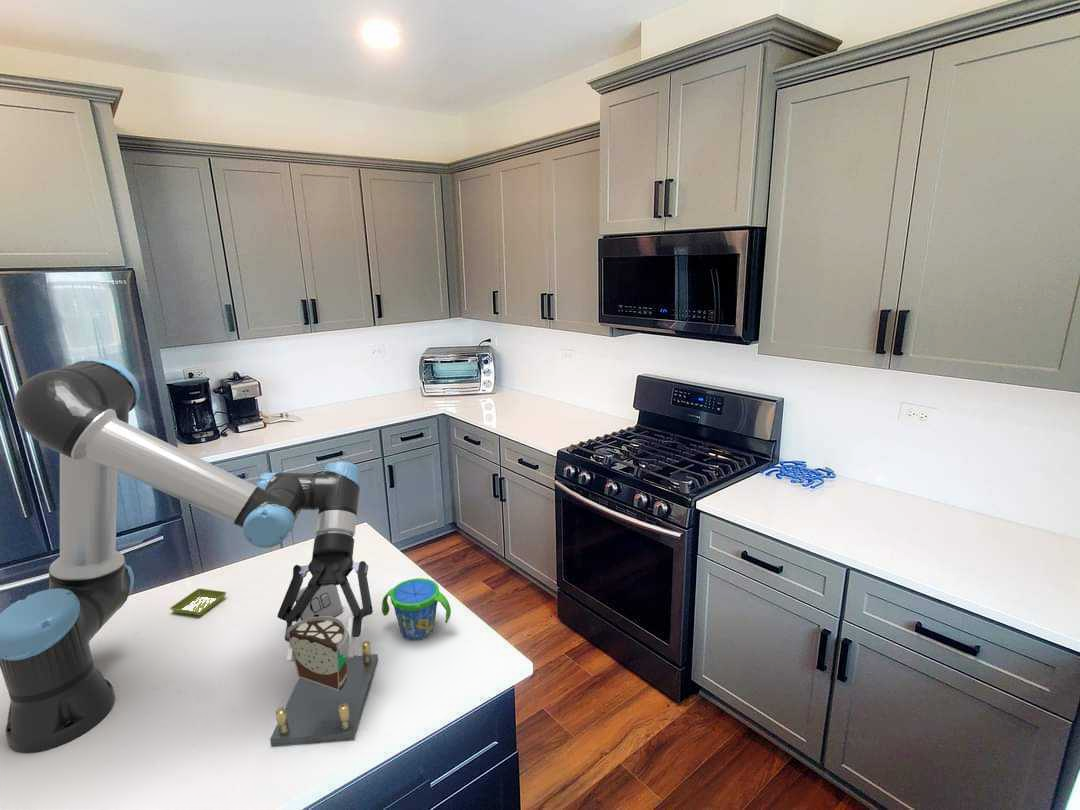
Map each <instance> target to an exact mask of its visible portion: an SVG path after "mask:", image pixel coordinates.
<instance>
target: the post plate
mask: <svg viewBox="0 0 1080 810" xmlns="http://www.w3.org/2000/svg"><path fill="white" fill-rule="evenodd" d="M360 644H361V652H362V653H361V654H360V655H359V654H358V655H353V658H348V657H346V661H347V680H346V682H345V684H344V686H343V688H342V689H341V690H340V691H337V690H334V689H331V688H328V687H325V686H322V685H319V684H316V683H313V682H310V681H307V680H305V679H302V678H299V677H298V680H297V682H296V684H295V686H294V688H293V690H292V693H291V694H290V697H289V699H288V701H287V703H286V706H285V707H280V708H278V709H277V710H276V711H275V716H276V723H277V724H276V726H275V728H274V729H273V732H272V734H271V736H270V738H269V740H270V746H271V747H278V746H293V745H304V744H306V745H307V744H316V743H317V744H319V743H320V744H321V743H331V742H344V741H354V740H355V738H356V735H357V731H358V728H359V724H360V721H361V718H362V715H363V712H364V708H365V705H366V701H367V698H368V695H369V691H370V689H371V685H372V681H373V679H374V675H375V671H376V669H377V665H378V662H379V655H378V653H375V654H372V653H371V646H370V640H365V641H362V642H361V643H360Z"/></svg>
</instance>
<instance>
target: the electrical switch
mask: <svg viewBox="0 0 1080 810" xmlns="http://www.w3.org/2000/svg"><path fill="white" fill-rule="evenodd" d="M306 587H307V586H305V587H303V588H302V587H301V588H300V590H299V593H298V595H297V598H296V600H295V604H296V603H297V601H298V600H299V598H300V597H301V595H302V594H303V592H304V591H305V589H306ZM343 609H344V607H343V605H342V601H341V598H340V594H339V590H338V585H328V586H321V587H320V589H319V590H318V591H317V592H316V593H315V595H314V597H313V598H312V600H311V601H310V603H309V604H308V606H307V607H306V609H305V611H304V612H303V614H302V615H301V617H300V618H299V619H300V621H303V620H305V619H309V618H313V617H320V616H328V617H334V618H335V617H336V616H338V615H340V614H342V612H343Z"/></svg>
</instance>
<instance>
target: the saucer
mask: <svg viewBox="0 0 1080 810" xmlns="http://www.w3.org/2000/svg"><path fill="white" fill-rule="evenodd" d="M226 595H227V591H222V590H215V589H214V590H213V589H208V588H207V589H206V588H197V589H195V590H193V591H192V592H191V593H189V594H188V595H187V596H185V597H184V598H182V599H181V600H179V601H178V602H176V603H175V604H174V605H172V606H170V608H169V609H170V610H172V611H173V612H176V613H178V612H179V613H178V614H184V613H186V614H185V615H191V614H193V615H192V616H198V615H200V616H202V615H203V614H205V613H206V612H207V611H209V610H210V609H211V608H213V607H215V606H216V605H217V604H218V603H220V602H221V601H222V600H223V599H224V597H225V596H226ZM198 597H200V598H201V597H208V598H214V599H215V598H216V600H215V601H213V602H212V603H211V604H210V602H209V603H208V604H207V603H206V601H207V600H206V601H205V602H204V603H203V604H202V602H201V603H200V604H199V605H198V607H197V608H196V606H195V607H194V608H193V611H189V610H182V608H184V607H185V606H187V605H190V603H191V602H192V601H196V599H197V598H198ZM200 598H199V599H200ZM197 600H198V599H197ZM210 600H211V599H210ZM210 600H209V601H210ZM201 601H203V599H202V600H201ZM219 601H220V602H219ZM198 602H199V600H198V601H197V602H196V603H195V604H197V603H198ZM216 603H217V604H216ZM193 604H194V603H193ZM201 604H202V605H201ZM205 604H207V606H206V607H205V608H204V606H205ZM215 604H216V605H215ZM212 606H213V607H212ZM195 608H196V609H195ZM199 608H202V609H201V611H200V612H198V611H199ZM208 609H209V610H208ZM194 610H195V611H194ZM204 612H205V613H204Z"/></svg>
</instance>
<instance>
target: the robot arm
mask: <svg viewBox="0 0 1080 810" xmlns="http://www.w3.org/2000/svg"><path fill="white" fill-rule="evenodd" d="M140 395H141V389H140V385H139V383H138V380H137V379H136V377H135V375H133V374H132V372H130V371H129V370H128V369H127V368H126V367H124V366H123V365H122V364H119V363H117V362H115V361H113V360H108V359H101V358H100V359H90V360H87V359H86V360H79V361H76V362H74V363H72V364H69V365H65V366H62V367H58V368H54V369H51V370H47V371H43V372H40V373H37V374H35V375H33V376H32V377H31V376H30V378H28V379H27V380H26V381H24V383H22V384H21V385H20V387H19V389H17V391H16V394H15V396H14V402H13V409H14V414H15V417H16V419H17V421H18V424H19V425H20V426H21V428H22V429H23V430H24V431H25V432H26V433H27V434H29V436H30V437H32V438H33V439H35V440H36V441H37V442H39V443H41V444H42V445H44V446H46V447H48V448H49V449H51V450H53V451H55V452H57V453H59V557H58V558H57V559H55V560H54V561H53V562H52V563H51V564H50V566H49V568H48V571H49V572H48V577H49V579H48V581H49V582H48V585H49V587H48V589H44V590H41V591H37V592H34V593H32V594H29V595H27V596H26V598H24V599H18V600H17V601H15V602H14V603H12V604H10V605H9V606H8V607H6V608H5V609H4V610H3V611H1V613H0V670H1V674H2V676H3V680H4V682H5V686H6V689H7V692H8V695H9V699H10V703H9V709H8V715H7V724H6V727H5V735H6V740H7V743H8V745H9V747H10V748H11V749H13V750H14V751H16V752H20V753H33V752H41V751H46V750H48V749H52V748H55V747H58V746H60V745H64V744H65V743H68V742H70V741H72V740H74V739H76V738H77V737H80V736H82V735H83V734H85V733H86V732H88V731H89V730H91V729H92V728H94V727H95V726H96V725H97V724H99V723H100V722H101V721H102V720H103V719H104V718H105V717H106V716H107V715H108V713H110V711H111V710H112V709H113V706H114V705H115V701H116V696H115V695H116V694H115V691H114V687H113V685H112V683H111V682H110V681H109V680H108V679H107V678H105V677H104V675H103V674H102V673H101V671H100V669H99V668H97V667H96V666H95V663H94V660H93V655H92V650H91V648H90V647H91V646H90V641H92V639H93V638H94V637H95V635H96V634H97V633H99V631H100V630H101V629H102V628H103V626H105V625H106V623H108V622H109V620H110V619H111V618H112V617H113V615H114V614H116V613H117V612H118V611H119V610H120V609H121V608H122V607H123V605H124V604H125V603H127V602H126V601H127V599H128V598H129V596H130V595H131V593H132V591H133V589H134V584H135V575H134V572H133V569H132V567H131V566H130V565H127V564H126V563H127V562H126V561H125V556H124V554H123V553H121V552H120V551H118V550H117V549H116V548H117V547H116V545H117V544H116V543H117V512H118V511H117V510H118V509H117V506H118V504H117V502H118V473H120V474H122V475H125V476H127V477H130V478H131V479H134V480H136V481H138V482H140V483H143V484H144V485H147V486H150V487H152V488H154V489H156V490H158V491H160V492H162V493H165V494H167V495H169V496H172V497H173V498H176V499H178V500H180V501H183V502H185V503H187V504H190V505H191V506H194V507H196V508H198V509H200V510H203V511H205V512H207V513H209V514H212V515H214V516H216V517H218V518H221V519H222V520H225V521H227V522H230V523H232V524H234V525H235V526H238V527H240V528H242V532H243V536H244V537H245V539H246V540H247V541H248V542H249V544H250V545H253V546H255V547H257V548H260V549H267V548H268V549H270V548H273V547H277V546H278V545H280V544H281V543H282V542H284V541H285V540H286V539H287V537H288V536H289V533H291V532H292V531H293V529H294V527H295V526H294V525H295V522H296V521H297V518H298V517H299V515H300V514H301V513H300V512H301V511H308V510H309V511H315V510H318V512H317V513H318V514H317V522H316V526H315V527H316V528H315V532H314V533H315V535H316V536H315V538H314V541H313V548H312V556H311V561H310V562H309V563H308V564H305V565H299V564H295V565H294V566H293V568H292V569H293V570H292V578H291V581H290V583H289V585H288V588H287V590H286V592H285V595H284V597H283V601H282V603H281V605H280V608H279V610H278V612H277V618H278V619H280V620H283V621H285V622H286V626H285V627H286V628H285V634H284V640H285V642H288V649H287V656H286V661H288V662H290V663H292V662H293V663H295V661H294V655H293V648H291V645H290V641H289V637H288V638H286V632H287V629H288V628H289V627H291V626H292V625H294V624H296V623H298V622H299V620H300V619H301V618H300V617H301V615H302V614H303V612H304V611H305V609H306V607H307V606H308V604H309V603H310V601H311V600H312V598H313V597H314V595H315V593H316V592H317V591H318V590H319V589H320V587H321V586H328V585H336V586H340V588H341V590H342V593H343V595H344V598H345V599H346V602H347V604H348V607H349V608H350V611H351V613H352V616H353V617H348V622H347V630H348V633H349V636H350V641H349V644H348V647H347V648H346V657H348V658H353V656H354V652H355V651H354V650H355V649H354V648H355V641H356V638H360V637H361V634H362V633H361V632H362V624H363V623H362V621H363V619H364V618H365V617H367V616H370V615H372V614H373V612H374V611H373V605H372V600H371V599H372V598H371V593H370V588H369V587H370V586H369V582H368V571H369V565H368V564H367V563H366V562H365V560H361V561H359V562H355V561H354V559H353V558H354V557H353V555H354V547H355V539H354V536H355V534H356V527H357V515H358V509H359V499H360V490H361V470H360V469H359V468H360V467H358V466H357V465H356V464H354V463H351V462H348V461H335V462H333V461H332V462H329V463H327V464H326V465H325V466H324V470H323V471H322V472H318V473H315V472H313V473H311V472H310V473H309V472H308V473H307V472H284V471H277V472H264V473H262V474H261V475H260V476H259V477H258V480H257V483H256V484H253V483H251V482H249V481H247V480H246V479H244V478H241V477H239V476H236V475H235V474H232V473H230V472H228V471H226V470H225V469H222V468H220V467H218V466H216V465H214V464H212V463H210V462H208V461H206V460H204V459H201V458H200V457H198V456H195V455H193V454H192V453H189V452H187V451H185V450H183V449H181V448H179V447H176V446H174V445H172V443H171V444H170V443H168V442H166V441H165V440H162V439H160V438H158V437H156V436H154V435H152V434H150V433H149V432H145V431H144V430H141V429H140V428H137V427H136V426H133V425H131V424H129V419H130V418H129V413H130V412H131V411H132V410H134V409H135V407H136V405H137V404H138V401H139V400H140ZM353 570H354V572H355V573H356V574H357V579H358V586H359V587H358V588H359V592H360V598H361V603H362V604H361V605H362V608H361V607H360V605H359V603H358V601H357V599H356V597H355V594H354V592H353V590H352V587H351V584H350V582H349V580H348V576H349V575H350V573H351V572H352V571H353ZM309 572H310V574H311V578H310V579H309V581H308V582H307V585H306V586H305V587H306V589H305V591H304V592H303V594H302V595H301V597H300V598H299V600H298V601H297V603H296V601H295V600H296V598H297V595H298V593H299V590H300V589H302V585H303V581H304V579H305V578H306V577H307V575H308V573H309Z"/></svg>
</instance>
